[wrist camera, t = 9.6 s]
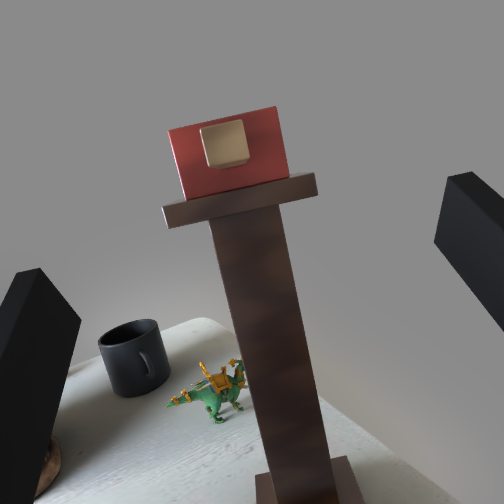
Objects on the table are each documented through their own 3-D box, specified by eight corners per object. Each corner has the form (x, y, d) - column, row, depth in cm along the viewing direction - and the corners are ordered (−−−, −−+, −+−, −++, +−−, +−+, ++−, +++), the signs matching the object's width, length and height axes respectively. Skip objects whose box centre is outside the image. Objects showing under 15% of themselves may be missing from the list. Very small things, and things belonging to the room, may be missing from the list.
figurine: (264, 402, 49) (251, 346, 47) (178, 447, 44) (159, 386, 42) (254, 392, 51) (241, 339, 50) (171, 433, 47) (154, 376, 45)
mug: (129, 413, 53) (111, 357, 51) (107, 385, 63) (91, 336, 61) (187, 381, 58) (172, 329, 56) (158, 359, 68) (145, 314, 66)
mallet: (157, 215, 16) (126, 105, 15) (193, 196, 28) (178, 137, 28) (317, 178, 16) (297, 66, 15) (282, 176, 28) (270, 116, 27)
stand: (256, 562, 29) (159, 207, 23) (253, 488, 36) (177, 199, 30) (381, 536, 29) (315, 172, 23) (354, 467, 36) (298, 172, 30)
